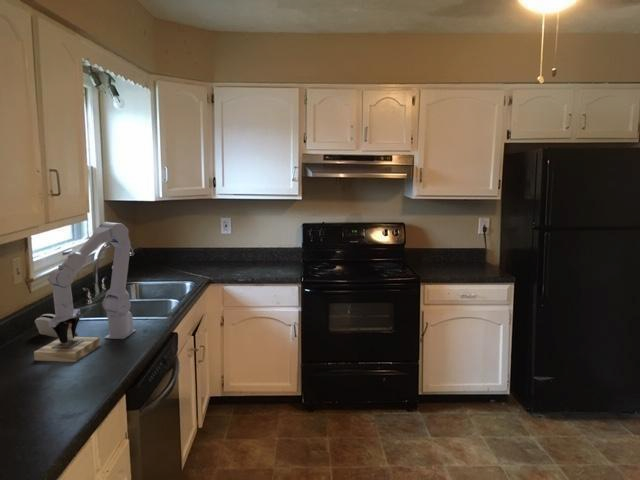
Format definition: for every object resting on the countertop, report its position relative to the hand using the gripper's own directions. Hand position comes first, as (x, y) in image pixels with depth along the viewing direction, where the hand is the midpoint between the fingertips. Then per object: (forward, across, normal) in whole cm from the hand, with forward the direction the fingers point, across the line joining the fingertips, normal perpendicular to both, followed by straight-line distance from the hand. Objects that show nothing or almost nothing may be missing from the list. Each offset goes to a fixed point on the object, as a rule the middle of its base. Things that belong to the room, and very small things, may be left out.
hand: (67, 340), depth 174 cm
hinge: (+5, +16, +16) cm, 24 cm away
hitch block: (+5, 0, 0) cm, 5 cm away
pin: (+2, 0, 0) cm, 2 cm away
